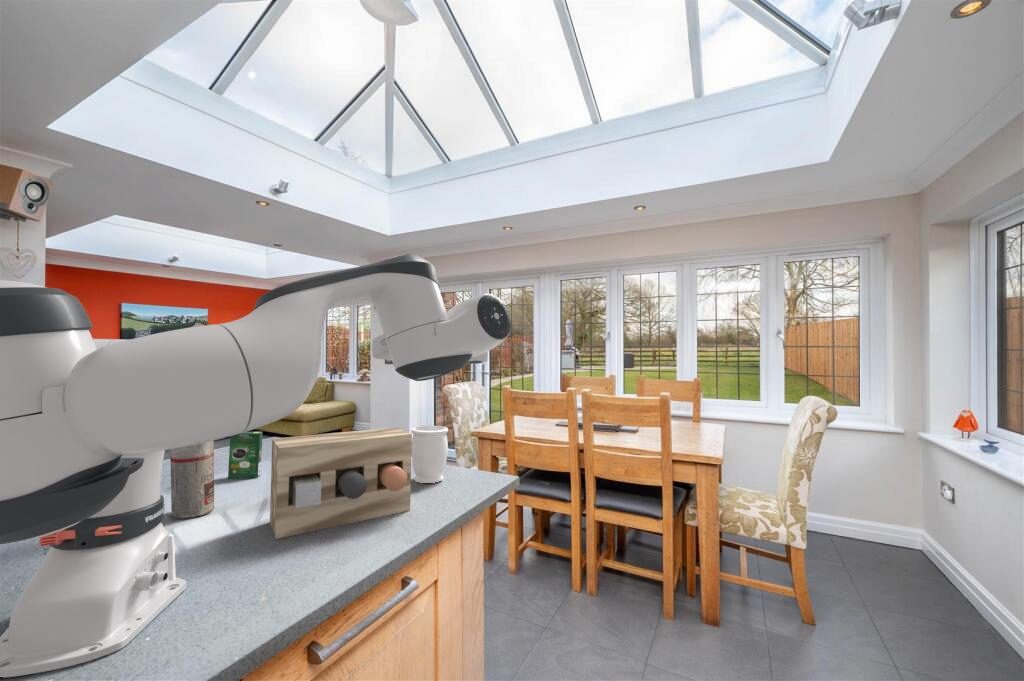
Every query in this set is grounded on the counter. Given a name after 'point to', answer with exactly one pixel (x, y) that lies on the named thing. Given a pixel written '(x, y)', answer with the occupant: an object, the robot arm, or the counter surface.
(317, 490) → the gray metal cube
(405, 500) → the wooden holder box
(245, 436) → the coffee box
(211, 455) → the paper wrapped package
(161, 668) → the counter surface
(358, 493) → the dark grey cylinder
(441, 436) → the jar
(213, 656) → the counter surface
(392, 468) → the terracotta button
